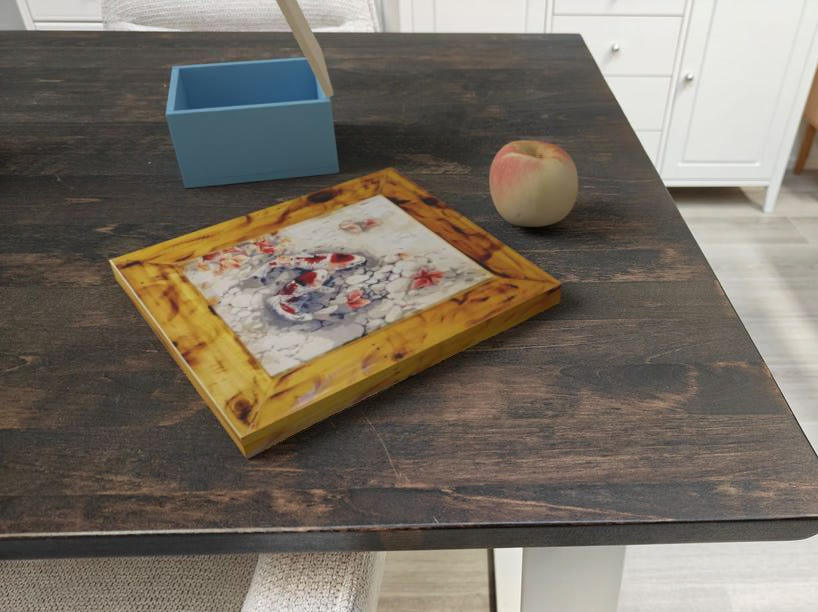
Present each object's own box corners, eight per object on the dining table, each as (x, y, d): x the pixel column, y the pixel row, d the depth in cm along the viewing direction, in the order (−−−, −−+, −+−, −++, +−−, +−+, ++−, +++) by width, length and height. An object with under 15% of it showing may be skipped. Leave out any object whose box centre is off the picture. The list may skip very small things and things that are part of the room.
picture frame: (561, 283, 65) (240, 438, 51) (559, 303, 66) (246, 458, 52) (391, 167, 81) (108, 260, 66) (392, 185, 82) (116, 279, 68)
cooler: (185, 188, 80) (165, 114, 75) (189, 134, 90) (172, 66, 85) (339, 173, 84) (331, 101, 78) (327, 123, 94) (319, 56, 88)
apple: (476, 207, 79) (477, 136, 73) (552, 193, 81) (558, 123, 76) (509, 250, 73) (513, 175, 67) (589, 233, 75) (599, 160, 70)
